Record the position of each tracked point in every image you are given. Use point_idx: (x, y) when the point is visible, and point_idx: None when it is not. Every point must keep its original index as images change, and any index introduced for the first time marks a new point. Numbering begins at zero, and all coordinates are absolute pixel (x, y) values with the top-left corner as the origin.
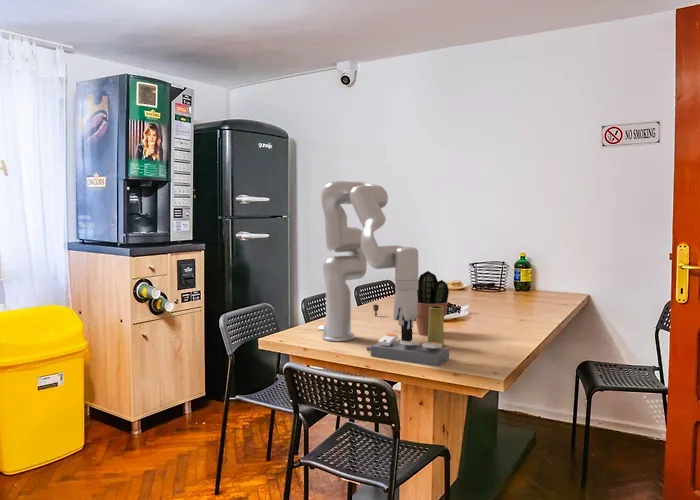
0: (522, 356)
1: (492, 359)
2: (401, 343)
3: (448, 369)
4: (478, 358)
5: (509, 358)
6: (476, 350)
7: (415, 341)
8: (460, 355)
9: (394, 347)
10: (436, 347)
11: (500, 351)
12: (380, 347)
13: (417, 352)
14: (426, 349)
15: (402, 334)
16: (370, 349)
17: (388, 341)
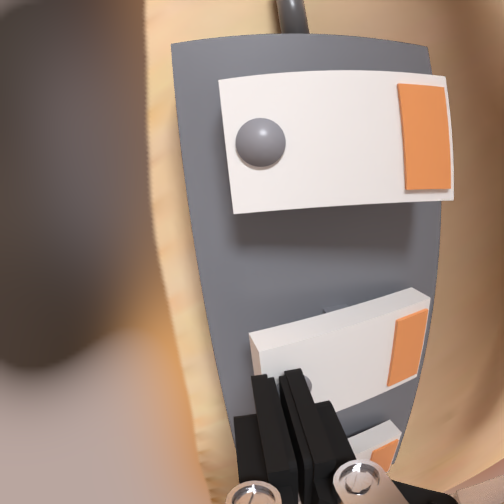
0: (451, 487)
1: (410, 483)
2: (252, 350)
3: (230, 485)
4: (411, 466)
5: (429, 489)
6: (494, 409)
7: (353, 403)
8: (433, 423)
9: (255, 253)
10: None
11: (488, 444)
12: (180, 142)
13: (232, 433)
14: None
15: (259, 425)
16: (277, 5)
17: (260, 193)
